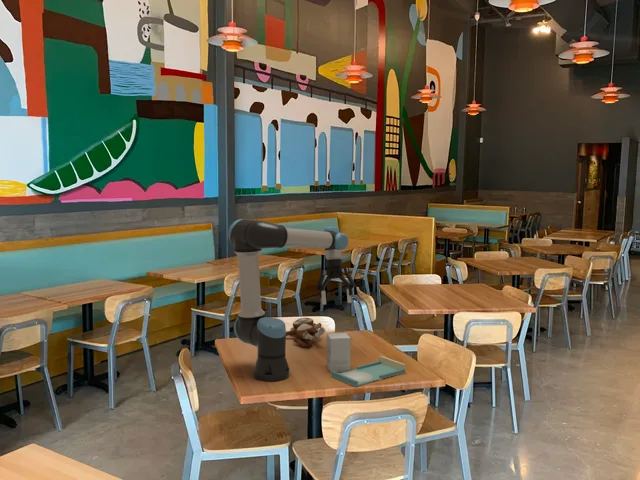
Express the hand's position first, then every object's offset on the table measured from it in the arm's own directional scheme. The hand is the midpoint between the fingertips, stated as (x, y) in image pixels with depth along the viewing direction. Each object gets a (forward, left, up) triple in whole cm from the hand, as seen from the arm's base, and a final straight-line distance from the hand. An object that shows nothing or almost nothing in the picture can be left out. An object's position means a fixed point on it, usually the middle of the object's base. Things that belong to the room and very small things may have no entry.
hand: (336, 303), depth 270 cm
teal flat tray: (-10, -33, -23) cm, 42 cm away
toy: (-1, +24, -24) cm, 34 cm away
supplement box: (-15, -20, -24) cm, 34 cm away
